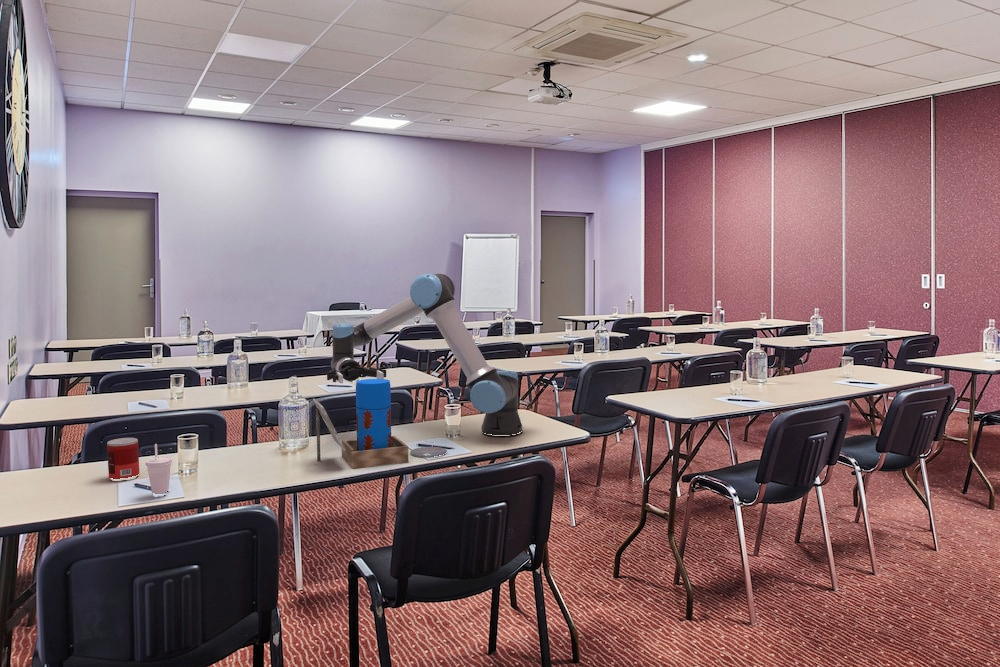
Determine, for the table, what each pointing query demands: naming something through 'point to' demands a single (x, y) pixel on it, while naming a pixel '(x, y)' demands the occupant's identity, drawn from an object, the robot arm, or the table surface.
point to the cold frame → (366, 457)
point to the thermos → (373, 414)
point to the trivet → (427, 452)
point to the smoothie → (159, 473)
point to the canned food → (123, 458)
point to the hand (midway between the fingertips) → (362, 378)
